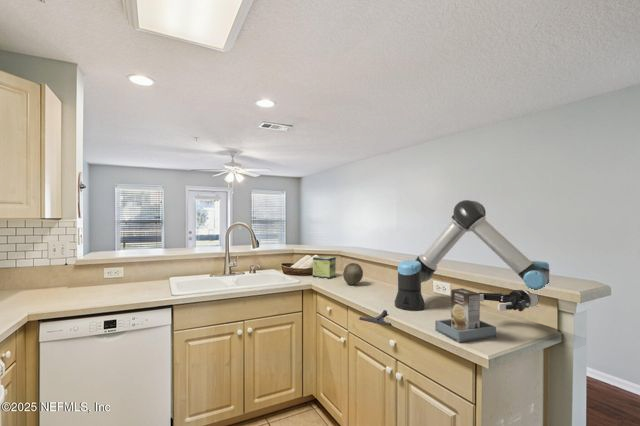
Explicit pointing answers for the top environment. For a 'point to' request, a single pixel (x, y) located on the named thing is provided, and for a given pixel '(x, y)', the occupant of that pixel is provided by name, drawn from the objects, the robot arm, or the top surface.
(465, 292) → the coffee box
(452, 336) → the tray
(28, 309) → the top surface
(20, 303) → the top surface
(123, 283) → the top surface
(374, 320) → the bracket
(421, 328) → the top surface
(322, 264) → the protein box
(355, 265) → the dark brown ball
